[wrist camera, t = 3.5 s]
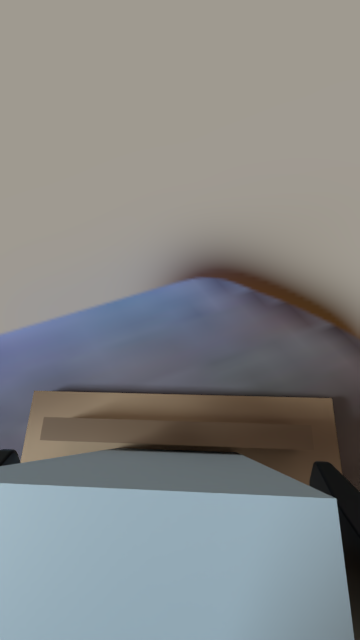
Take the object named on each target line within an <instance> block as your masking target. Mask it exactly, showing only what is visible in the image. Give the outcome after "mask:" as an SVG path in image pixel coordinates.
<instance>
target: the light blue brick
mask: <svg viewBox="0 0 360 640" xmlns="http://www.w3.org/2000/svg"><path fill="white" fill-rule="evenodd" d="M0 640H354V632H353V624H352V616H351V609H350V601H349V593H348V585H347V577H346V569H345V562H344V554H343V546H342V538H341V530H340V522H339V515H338V507H337V499H336V498H334V497H332V496H330V495H328V494H325V493H323V492H321V491H319V490H317V489H315V488H313V487H310V486H308V485H306V484H304V483H302V482H300V481H297V480H295V479H293V478H291V477H289V476H287V475H285V474H282V473H280V472H278V471H276V470H274V469H272V468H269V467H267V466H265V465H263V464H261V463H259V462H256V461H254V460H252V459H250V458H248V457H246V456H244V455H241V454H239V453H237V452H218V451H191V450H164V449H137V448H114V449H107V450H101V451H95V452H88V453H82V454H75V455H69V456H63V457H56V458H50V459H44V460H37V461H31V462H24V463H18V464H12V465H5V466H0Z"/></svg>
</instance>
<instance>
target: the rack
mask: <svg viewBox="0 0 360 640" xmlns="http://www.w3.org/2000/svg"><path fill="white" fill-rule="evenodd" d="M114 448H137V449H164V450H191V451H218V452H237V453H239V454H241V455H244V456H246V457H248V458H250V459H252V460H254V461H256V462H259V463H261V464H263V465H265V466H267V467H269V468H272V469H274V470H276V471H278V472H280V473H282V474H285V475H287V476H289V477H291V478H293V479H295V480H297V481H300V482H302V483H304V484H306V485H308V486H309V480H310V476H311V471H312V467H313V463H314V462H315V461H326V462H329V463H331V464H332V465H333V466H334V467H335V468H336V469H337V470H338V471H339V472H340V473H341V474H342V469H341V461H340V454H339V447H338V439H337V432H336V425H335V418H334V410H333V403H332V398H301V397H261V396H221V395H181V394H141V393H101V392H61V391H34V395H33V400H32V405H31V410H30V415H29V421H28V426H27V431H26V436H25V441H24V447H23V452H22V457H21V462H20V463H24V462H31V461H37V460H44V459H50V458H56V457H63V456H69V455H75V454H82V453H88V452H95V451H101V450H107V449H114Z"/></svg>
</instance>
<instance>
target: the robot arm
mask: <svg viewBox="0 0 360 640" xmlns="http://www.w3.org/2000/svg"><path fill="white" fill-rule="evenodd" d="M18 463H20V460H19V457H18V454H17V452H16V451H15V450H12V449H3V450H0V466H5V465H12V464H18ZM309 486H310V487H313V488H315V489H317V490H319V491H321V492H323V493H325V494H328V495H330V496H332V497H334V498H336V499H337V507H338V515H339V522H340V530H341V538H342V546H343V554H344V562H345V569H346V577H347V585H348V593H349V601H350V609H351V616H352V624H353V632H354V640H360V492H359V491H358V490H357V489H356V488H355V487H354V486H353V485H352V484H351V483H350V482H349V481H348V480H347V479H346V478H345V477H344V476H343V475H342V474H341V473H340V472H339V471H338V470H337V469H336V468H335V467H334V466H333V465H332V464H331V463H329V462H326V461H315V462H314V463H313V467H312V471H311V476H310V480H309Z"/></svg>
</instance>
